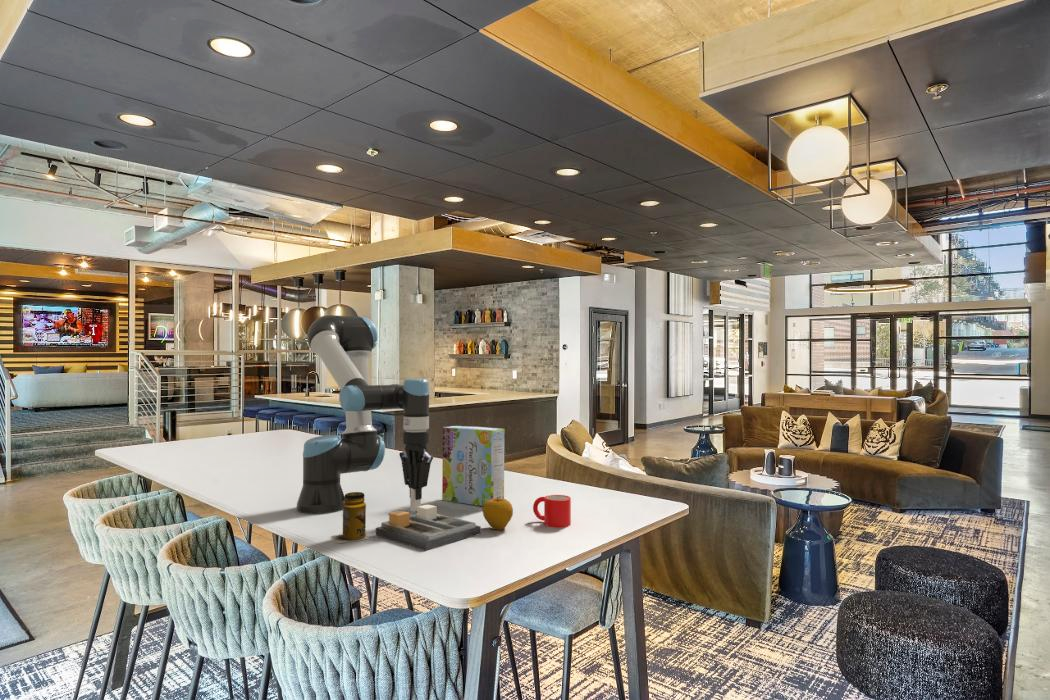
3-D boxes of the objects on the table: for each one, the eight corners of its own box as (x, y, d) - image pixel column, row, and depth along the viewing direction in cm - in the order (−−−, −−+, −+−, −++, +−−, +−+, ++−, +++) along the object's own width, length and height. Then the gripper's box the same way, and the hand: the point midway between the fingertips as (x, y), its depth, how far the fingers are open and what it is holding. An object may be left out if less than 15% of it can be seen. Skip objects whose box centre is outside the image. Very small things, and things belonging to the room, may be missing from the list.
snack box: (506, 503, 204) (506, 428, 205) (491, 508, 197) (491, 430, 198) (456, 496, 216) (456, 424, 217) (440, 500, 209) (440, 426, 209)
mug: (537, 517, 186) (537, 492, 186) (574, 522, 181) (574, 496, 181) (527, 524, 179) (527, 497, 179) (565, 528, 174) (565, 501, 174)
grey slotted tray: (375, 535, 166) (375, 523, 166) (430, 520, 181) (430, 510, 181) (425, 550, 153) (425, 537, 153) (480, 533, 168) (480, 522, 168)
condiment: (370, 538, 163) (370, 494, 163) (338, 544, 158) (339, 498, 158) (361, 532, 169) (362, 489, 169) (331, 537, 164) (331, 493, 164)
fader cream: (417, 518, 175) (417, 506, 175) (427, 516, 178) (427, 504, 178) (426, 521, 172) (426, 508, 172) (436, 518, 175) (436, 506, 175)
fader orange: (389, 525, 167) (389, 513, 167) (400, 522, 170) (400, 510, 170) (398, 528, 165) (398, 515, 165) (409, 525, 168) (409, 512, 168)
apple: (477, 526, 176) (477, 495, 176) (506, 523, 179) (506, 493, 179) (488, 534, 167) (488, 502, 168) (517, 531, 171) (517, 499, 171)
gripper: (392, 430, 180) (391, 508, 180) (420, 433, 172) (420, 516, 171) (411, 428, 186) (411, 504, 185) (440, 431, 178) (439, 511, 177)
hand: (415, 510), depth 178 cm, fingers closed
